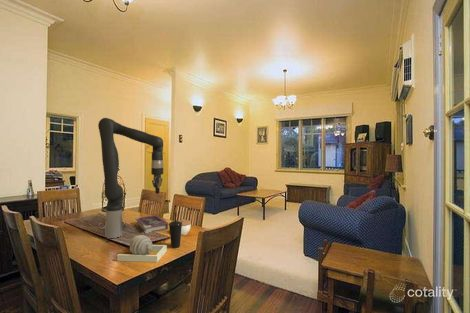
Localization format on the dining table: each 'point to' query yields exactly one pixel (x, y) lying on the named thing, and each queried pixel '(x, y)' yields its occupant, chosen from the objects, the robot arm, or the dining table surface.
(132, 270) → the dining table surface
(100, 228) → the dining table surface
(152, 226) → the book
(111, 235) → the robot arm
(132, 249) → the grey ridged rounded piece
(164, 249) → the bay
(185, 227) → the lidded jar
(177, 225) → the drinking cup
